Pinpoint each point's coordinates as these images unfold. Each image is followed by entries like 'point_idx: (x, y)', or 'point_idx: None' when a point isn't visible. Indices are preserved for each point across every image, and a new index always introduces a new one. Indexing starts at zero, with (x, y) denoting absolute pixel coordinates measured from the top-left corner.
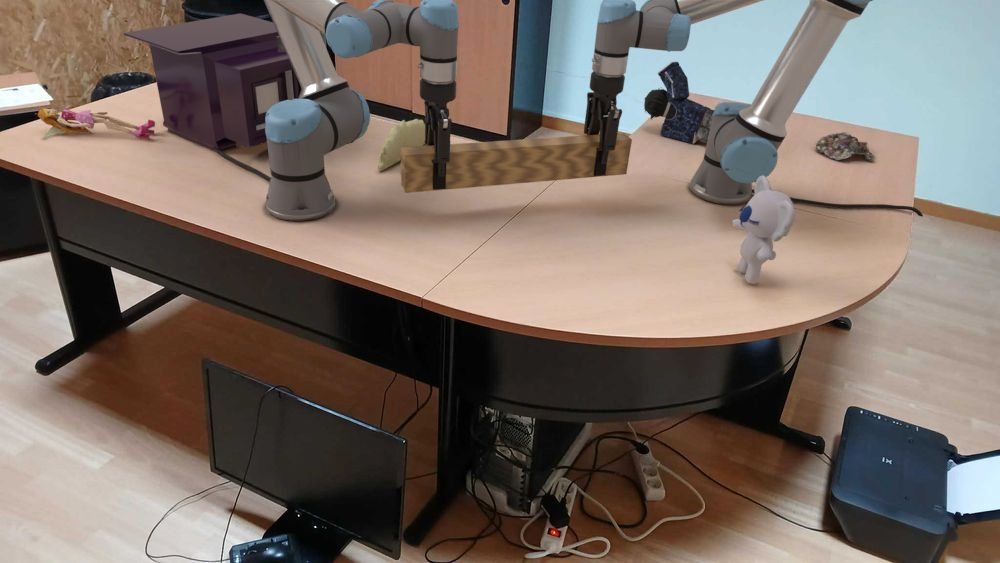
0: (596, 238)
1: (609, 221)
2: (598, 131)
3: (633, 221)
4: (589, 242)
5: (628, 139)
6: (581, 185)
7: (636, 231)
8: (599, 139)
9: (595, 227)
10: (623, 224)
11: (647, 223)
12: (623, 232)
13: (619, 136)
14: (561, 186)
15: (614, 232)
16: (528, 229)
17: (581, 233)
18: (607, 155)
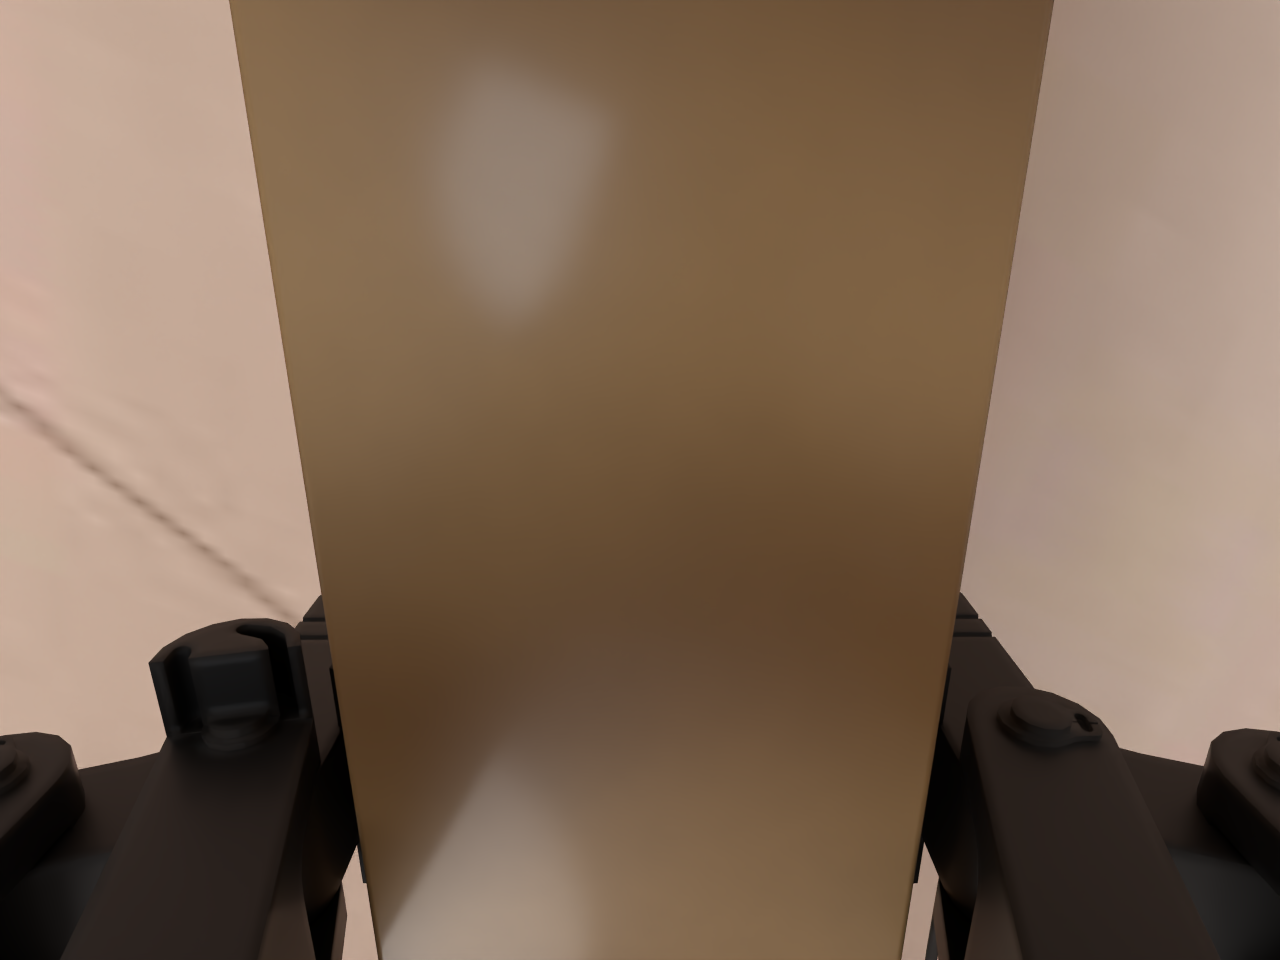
0: (1213, 603)
1: (1016, 388)
2: (282, 898)
3: (1102, 165)
4: (1238, 669)
5: (1027, 24)
6: (271, 325)
7: (1274, 235)
8: (743, 955)
9: (1062, 541)
10: (1113, 291)
11: (1196, 36)
12: (1233, 360)
13: (617, 259)
14: (286, 512)
15: (1198, 434)
16: (918, 934)
17: (1101, 670)
18: (1013, 678)
